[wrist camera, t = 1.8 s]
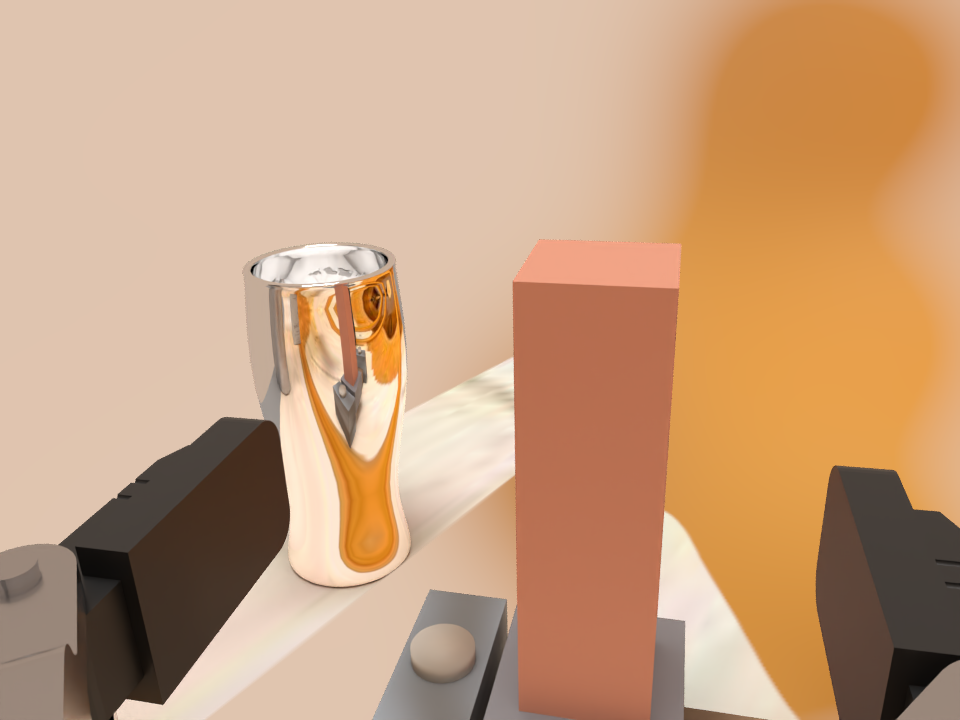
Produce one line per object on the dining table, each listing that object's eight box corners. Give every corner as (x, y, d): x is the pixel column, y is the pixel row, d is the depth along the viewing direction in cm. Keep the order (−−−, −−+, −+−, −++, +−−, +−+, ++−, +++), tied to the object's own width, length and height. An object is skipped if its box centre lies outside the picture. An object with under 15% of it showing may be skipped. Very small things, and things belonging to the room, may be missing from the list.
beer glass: (447, 538, 43) (433, 254, 37) (351, 614, 38) (317, 297, 32) (349, 497, 47) (322, 233, 41) (250, 560, 42) (202, 269, 36)
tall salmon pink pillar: (481, 813, 27) (461, 294, 20) (519, 669, 32) (513, 228, 26) (675, 849, 25) (724, 307, 19) (679, 692, 31) (717, 233, 24)
